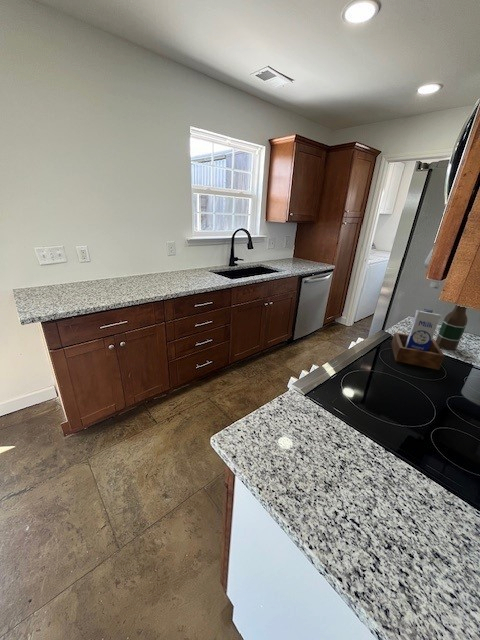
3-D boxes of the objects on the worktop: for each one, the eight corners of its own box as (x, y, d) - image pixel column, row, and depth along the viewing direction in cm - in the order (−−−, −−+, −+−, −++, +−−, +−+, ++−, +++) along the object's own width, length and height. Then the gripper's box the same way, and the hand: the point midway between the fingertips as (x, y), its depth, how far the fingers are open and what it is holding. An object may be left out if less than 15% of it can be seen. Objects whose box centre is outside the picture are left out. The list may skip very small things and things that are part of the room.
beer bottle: (457, 352, 110) (480, 297, 101) (435, 346, 114) (455, 293, 104) (455, 344, 116) (477, 292, 107) (434, 340, 120) (453, 289, 110)
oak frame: (429, 351, 110) (434, 338, 108) (439, 369, 98) (444, 356, 95) (391, 344, 115) (394, 332, 112) (395, 361, 102) (399, 347, 100)
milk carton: (402, 357, 105) (418, 310, 97) (403, 350, 110) (417, 305, 102) (423, 362, 102) (441, 315, 94) (423, 355, 107) (439, 309, 99)
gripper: (450, 234, 73) (429, 282, 75) (498, 260, 79) (478, 304, 81) (429, 237, 80) (411, 281, 81) (476, 260, 85) (457, 301, 87)
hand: (444, 292), depth 81 cm, fingers open, 8 cm apart
